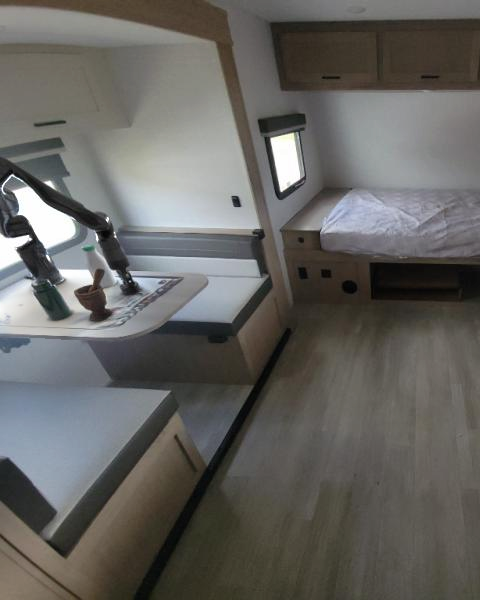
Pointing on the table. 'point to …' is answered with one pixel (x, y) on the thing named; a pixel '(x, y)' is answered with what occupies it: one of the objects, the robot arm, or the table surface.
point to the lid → (126, 290)
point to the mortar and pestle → (94, 297)
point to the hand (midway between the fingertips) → (131, 289)
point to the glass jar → (50, 299)
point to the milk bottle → (98, 265)
